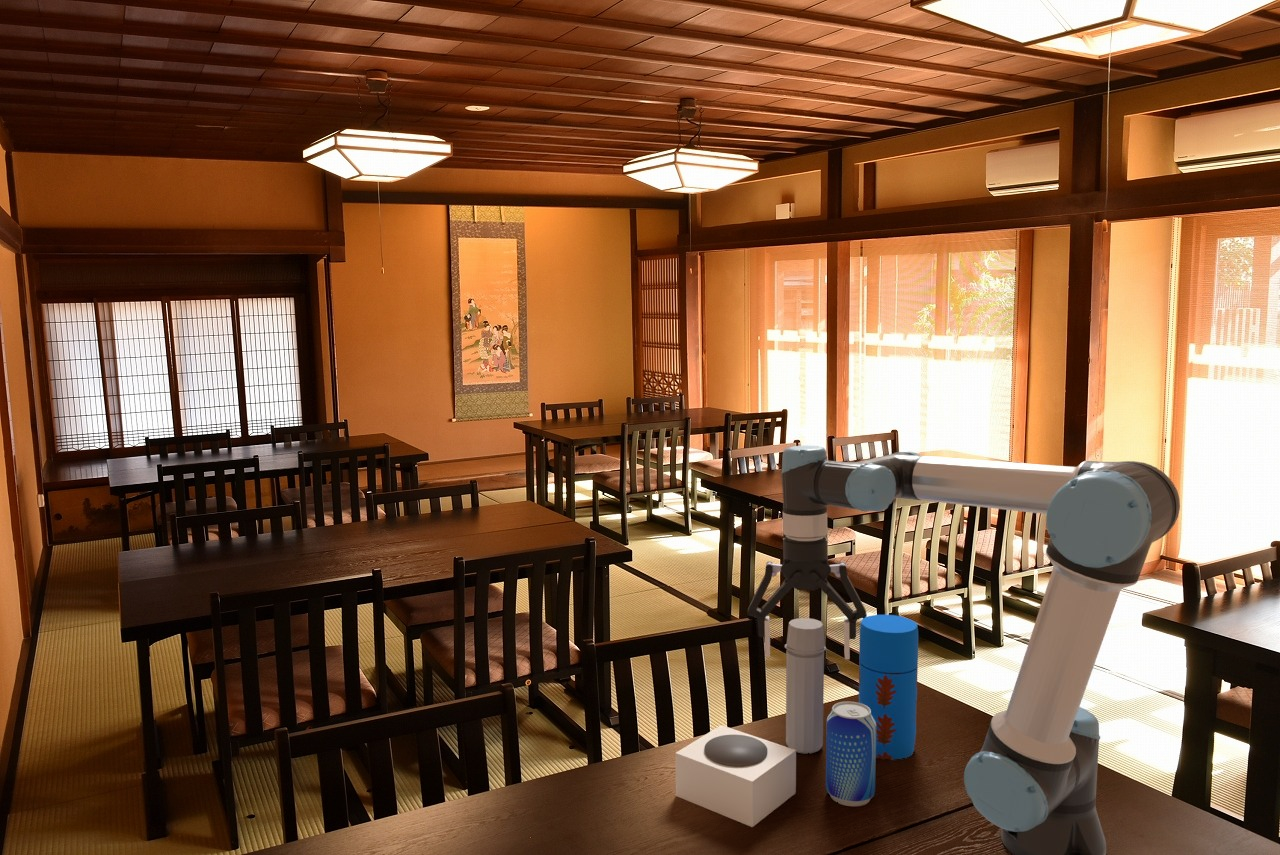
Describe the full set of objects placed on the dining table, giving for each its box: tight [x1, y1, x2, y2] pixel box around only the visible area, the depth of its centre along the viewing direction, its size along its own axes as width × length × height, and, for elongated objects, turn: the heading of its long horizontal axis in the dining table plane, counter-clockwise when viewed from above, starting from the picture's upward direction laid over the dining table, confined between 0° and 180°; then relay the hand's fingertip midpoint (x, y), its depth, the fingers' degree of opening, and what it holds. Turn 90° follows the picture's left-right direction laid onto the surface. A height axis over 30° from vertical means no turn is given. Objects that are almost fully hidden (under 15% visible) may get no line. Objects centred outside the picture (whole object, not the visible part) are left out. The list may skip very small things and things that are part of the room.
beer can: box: [825, 701, 877, 807], centre depth 161 cm, size 8×8×16 cm
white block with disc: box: [675, 724, 797, 828], centre depth 162 cm, size 16×14×8 cm
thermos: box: [858, 614, 919, 761], centre depth 178 cm, size 11×11×25 cm
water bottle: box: [784, 617, 827, 755], centre depth 179 cm, size 9×8×25 cm
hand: (807, 655), depth 160 cm, fingers open, 13 cm apart
